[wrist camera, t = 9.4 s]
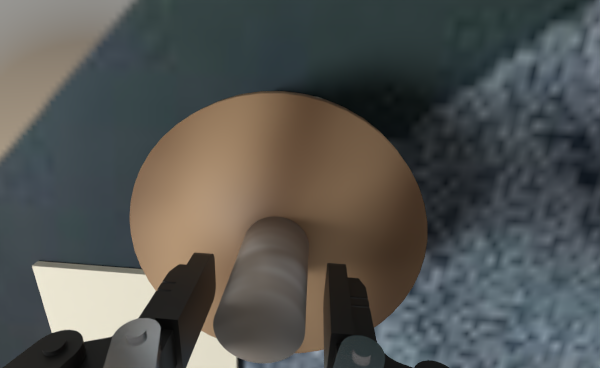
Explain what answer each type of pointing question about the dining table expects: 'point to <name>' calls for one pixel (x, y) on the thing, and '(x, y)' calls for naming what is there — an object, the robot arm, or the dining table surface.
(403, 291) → the lid
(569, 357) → the dining table surface
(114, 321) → the mat
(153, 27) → the dining table surface
